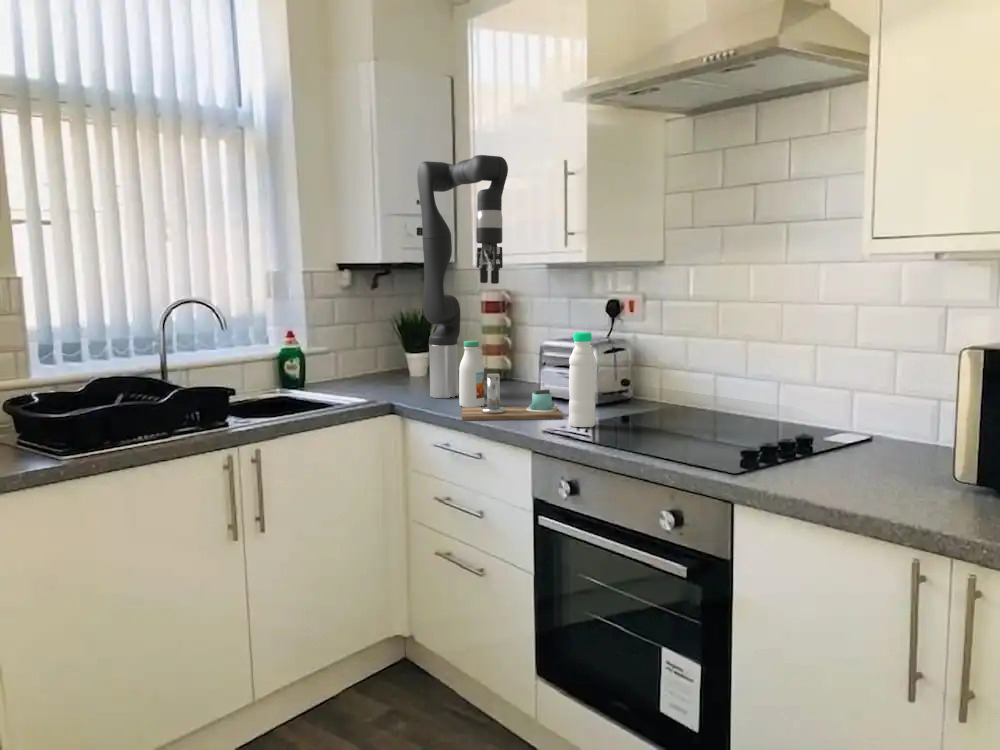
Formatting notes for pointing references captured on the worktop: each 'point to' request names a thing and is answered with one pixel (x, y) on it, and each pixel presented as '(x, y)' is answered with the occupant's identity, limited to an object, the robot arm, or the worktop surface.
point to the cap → (541, 400)
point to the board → (511, 414)
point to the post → (493, 396)
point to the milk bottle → (471, 377)
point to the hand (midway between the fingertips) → (489, 283)
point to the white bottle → (582, 382)
